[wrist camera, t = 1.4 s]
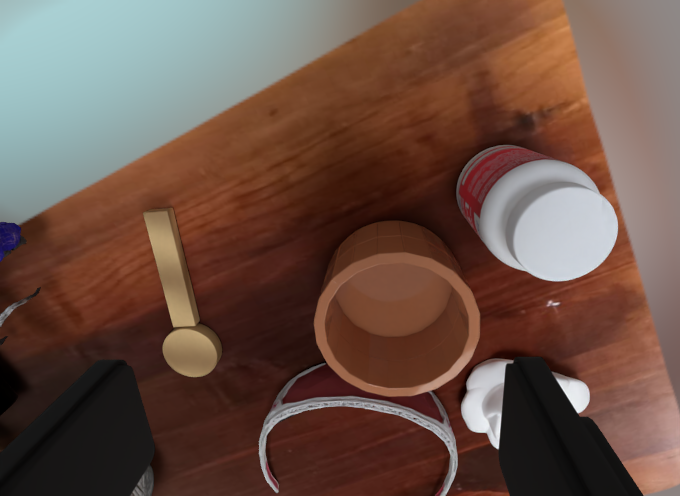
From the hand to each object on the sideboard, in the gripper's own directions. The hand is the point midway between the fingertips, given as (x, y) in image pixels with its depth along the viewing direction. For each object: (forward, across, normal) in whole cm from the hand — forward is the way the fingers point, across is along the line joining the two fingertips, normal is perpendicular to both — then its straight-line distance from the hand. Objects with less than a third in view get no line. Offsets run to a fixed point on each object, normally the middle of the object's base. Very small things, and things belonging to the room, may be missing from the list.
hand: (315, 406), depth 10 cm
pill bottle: (+22, -10, 0) cm, 24 cm away
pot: (+22, -2, +7) cm, 23 cm away
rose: (+22, -13, +18) cm, 31 cm away
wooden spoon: (+22, +15, +6) cm, 27 cm away
